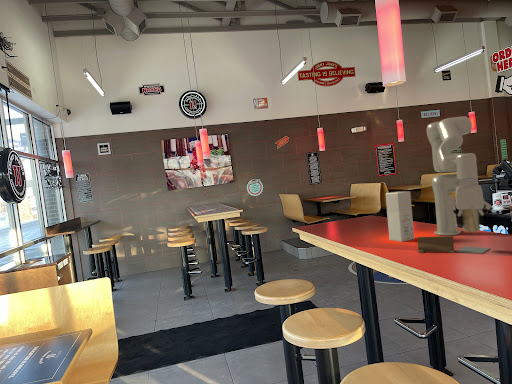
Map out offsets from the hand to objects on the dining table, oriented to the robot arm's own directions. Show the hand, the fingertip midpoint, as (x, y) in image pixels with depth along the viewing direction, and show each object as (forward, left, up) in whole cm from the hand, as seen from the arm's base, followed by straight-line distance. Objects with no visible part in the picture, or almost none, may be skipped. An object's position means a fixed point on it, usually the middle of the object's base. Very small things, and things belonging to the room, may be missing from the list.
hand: (471, 224), depth 159 cm
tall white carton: (-15, -39, -11) cm, 43 cm away
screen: (+7, -13, -11) cm, 18 cm away
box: (0, 0, -3) cm, 3 cm away
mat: (0, 0, -11) cm, 11 cm away
